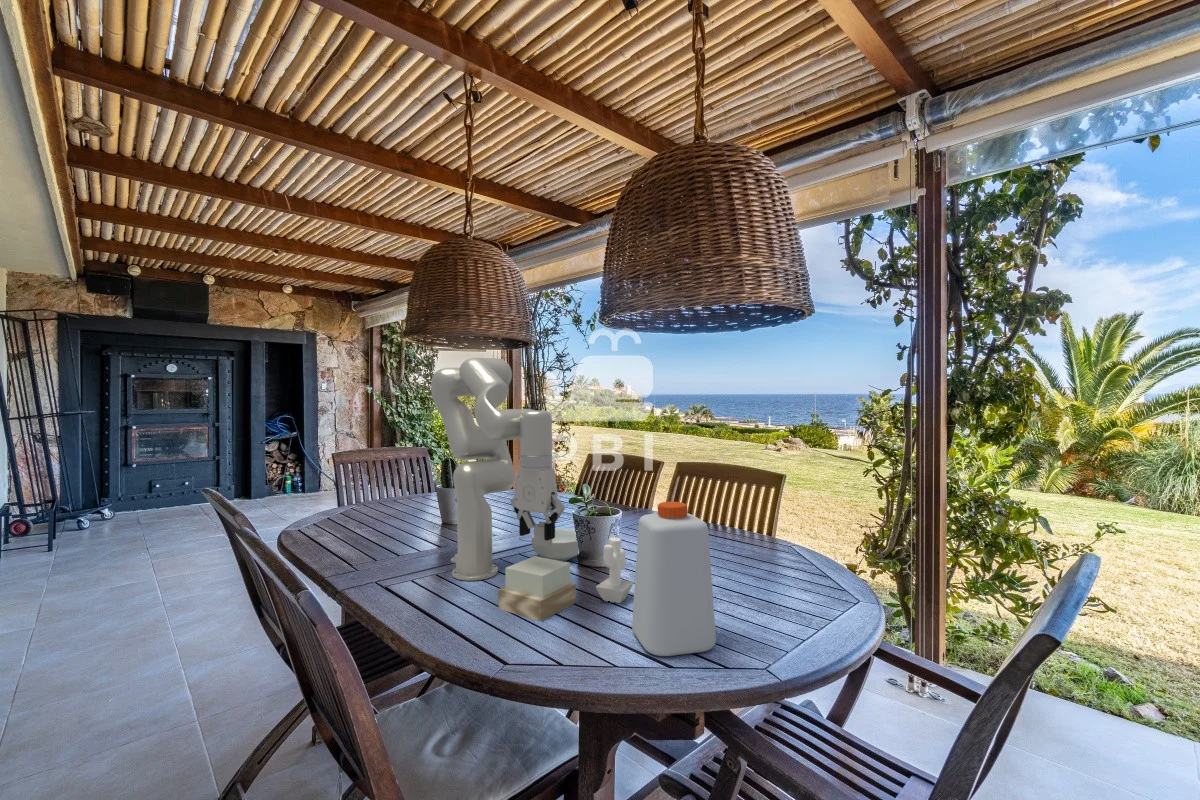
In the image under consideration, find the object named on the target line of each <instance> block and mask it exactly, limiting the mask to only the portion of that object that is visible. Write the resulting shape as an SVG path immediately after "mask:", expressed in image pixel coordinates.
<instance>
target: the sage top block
mask: <svg viewBox="0 0 1200 800" xmlns="http://www.w3.org/2000/svg"><path fill="white" fill-rule="evenodd" d="M504 568H505V573H504V574H505V587H506V589H507V590H512V591H516V592H520V593H524V594H528V595H532V596H536V597H540V598H544V597H546V596H547V595H549V594H551V593H553V592H555V591H557V590H559V589H561V588H563V587H565V586H567V585H569V584H570V583H571V562H567V561H557V560H552V559H547V558H545V557H543V556H536V555H534V556H532V557H529V558H527V559H524V560H522V561H519V562H517V563H514V564H512V565H510V566H507V567H504Z"/></svg>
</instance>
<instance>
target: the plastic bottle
mask: <svg viewBox="0 0 1200 800" xmlns="http://www.w3.org/2000/svg"><path fill="white" fill-rule="evenodd" d="M709 535H710V534H709V527H708V525H707V523H706V522H705V521H704V520H702V519H701V518H699V517H697V516H695V515H693V514H691V513H688V506H687V504H686V503H684V502H680V501H663V502H660V503H659V504H658V505H657V513H648V514H643V515H642V516H641V517H640V518H639V520H638V529H637V545H636V547H637V548H636V560H635V561H636V562H635V575H634V576H635V577H634V578H635V579H634V590H633V592H634V594H633V607H632V621H631V628H632V632H633V634H634V636H635V637H636V638H637V640H638V641H639V643H640V644H641V645H642V647H643V648H644V650H645V651H646V652H647V653H650V654H651V655H653V656H654V655H655V656H657V657H672V656H680V655H687V654H688V655H689V654H690V655H691V654H696V653H704V652H707V651H710V650H711V649H713V648H714V647H715V645H716V642H717V637H716V635H717V634H716V622H715V621H716V619H715V610H714V608H715V606H714V593H713V581H712V579H713V578H712V565H711V553H710V552H711V551H710V539H709V537H710V536H709Z"/></svg>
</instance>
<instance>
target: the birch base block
mask: <svg viewBox="0 0 1200 800" xmlns="http://www.w3.org/2000/svg"><path fill="white" fill-rule="evenodd" d="M576 588H577V584H576V583H573V582H570V584H569V585H567V586H565V587H563V588H561V589H559V590H557V591H555V592H553V593H551V594H549V595H547V596H546V597H544V598H540V597H536V596H532V595H528V594H524V593H520V592H516V591H512V590H507V589H506V586H504V587H501V588H498V609H499V610H502V611H505V612H507V613H511V614H514V615H518V616H522V617H525V618H529V619H530V620H531V619H532V620H534V621H538V622H543V621H545V620H546V619H549V618H550V617H552V616H554V615H555V614H558V613H560V612H562V611H563V610H566V609H567V608H569V607H571V606H573V605H574V603H575V604H576V603H577V589H576Z"/></svg>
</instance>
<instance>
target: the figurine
mask: <svg viewBox="0 0 1200 800" xmlns="http://www.w3.org/2000/svg"><path fill="white" fill-rule="evenodd" d="M621 545H622V539H621V538H619V537H613V536H610V537H609V538H608V544H605V545H604V546H603V563H604V566H605V567H606V568H608V569H609V570H608V571H609V573H608V574H609V577H607V578H605V579H604V580H603V581H601V582H600V583H599V584H598V585H596V586H595V588H596V589H595V590H596V591H597V592H598V594H599V595H600V597H601V599H602V601H603V600H604V601H603V602H608V601H610V602H609V603H614V602H616V603H615V604H621V603H622V602H624V600H625V599H626V598H627V597H628V596H629V593H630V592H631V588H632V587H633V585H634V584H635V581H632V580H626V579H621V578H622V577H621V571H623V570H625V569H626V552H625V549H624V548H621V547H622V546H621Z"/></svg>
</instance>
